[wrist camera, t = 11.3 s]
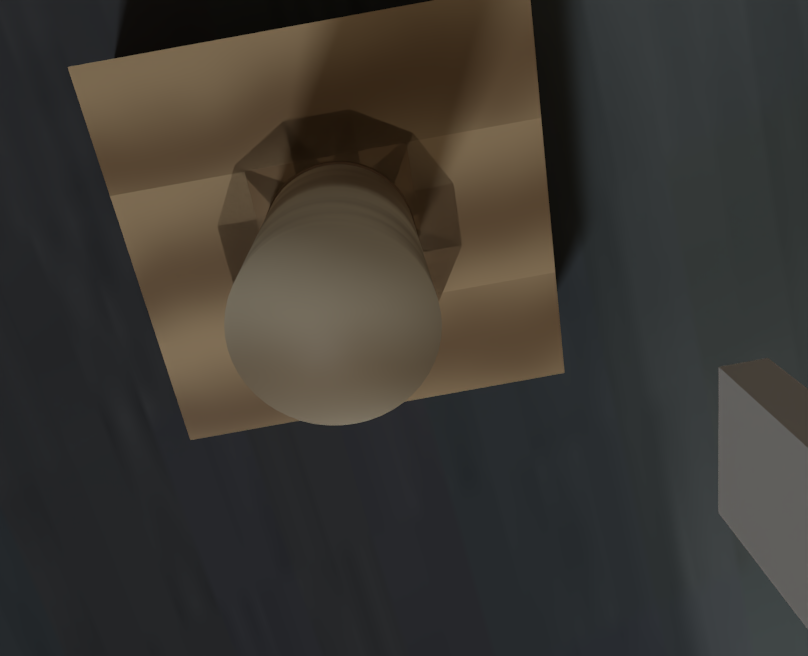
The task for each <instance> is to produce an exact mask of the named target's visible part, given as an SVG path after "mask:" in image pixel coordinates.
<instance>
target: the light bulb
mask: <svg viewBox="0 0 808 656" xmlns="http://www.w3.org/2000/svg"><path fill="white" fill-rule="evenodd" d="M224 329H225V339H226V344H227V348H228V352H229V354H230V357H231V360H232V363H233V364H234V366H235V368H236V370H237V372H238V374H239V375H240V377H241V378H242V380H243V381H244V382H245V384H246V385H247V386H248V387H249V388H250V389H251V390H252V392H253V393H254V394H255V395H256V396H258V397H259V398H260V399H261V400H262V401H264V402H265V403H266V404H268V405H269V406H271V407H272V408H274V409H275V410H277V411H279V412H281V413H283V414H285V415H287V416H289V417H292V418H295V419H298V420H301V421H304V422H309V423H313V424H321V425H348V424H356V423H360V422H364V421H368V420H371V419H373V418H376V417H379V416H381V415H383V414H385V413H387V412H389V411H391V410H393V409H394V408H396V407H397V406H399V405H400V404H402V403H403V402H404V401H406V400H407V399H408V398H409V397H410V396H411V395H412V394H413V393H414V392H415V391H416V390H417V389H418V388H419V387H420V386H421V385H422V383H423V382H424V380H425V379H426V377H427V376H428V374H429V372H430V370H431V369H432V367H433V365H434V363H435V360H436V357H437V354H438V351H439V346H440V341H441V333H442V320H441V310H440V306H439V302H438V298H437V295H436V291H435V288H434V285H433V282H432V279H431V275H430V272H429V269H428V266H427V263H426V260H425V256H424V253H423V250H422V247H421V244H420V241H419V237H418V234H417V231H416V225H415V221H414V217H413V214H412V211H411V209H410V206H409V204H408V202H407V200H406V198H405V197H404V195H403V194H402V192H401V191H400V190H399V188H398V187H397V186H396V185H395V184H394V183H393V182H392V181H391V180H390V179H388V178H387V177H386V176H385V175H383V174H382V173H380V172H378V171H377V170H375V169H373V168H370V167H368V166H366V165H363V164H359V163H356V162H349V161H329V162H323V163H319V164H315V165H313V166H310V167H308V168H305V169H304V170H302V171H300V172H298V173H297V174H295V175H294V176H293V177H291V178H290V179H289V180H288V181H287V182H286V183H285V184H284V185H283V186H282V187H281V188H280V190H279V191H278V192H277V194H276V195H275V197H274V199H273V201H272V203H271V205H270V207H269V209H268V212H267V215H266V218H265V220H264V222H263V224H262V226H261V228H260V230H259V232H258V234H257V236H256V238H255V240H254V243H253V245H252V247H251V249H250V251H249V253H248V255H247V257H246V259H245V261H244V263H243V265H242V267H241V269H240V271H239V273H238V275H237V277H236V279H235V281H234V283H233V286H232V288H231V291H230V294H229V296H228V300H227V304H226V309H225V319H224Z"/></svg>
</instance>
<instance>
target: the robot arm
mask: <svg viewBox="0 0 808 656" xmlns="http://www.w3.org/2000/svg"><path fill="white" fill-rule="evenodd" d="M718 513H719V514H720V515H721V517H722V518H723V519H724V520H725V522H726V523H727V524H728V526H729V527H730V528H731V530H732V531H733V532H734V534H735V535H736V536H737V537H738V539H739V540H740V541H741V543H742V544H743V545H744V547H745V548H746V549H747V550H748V552H749V553H750V554H751V556H752V557H753V558H754V560H755V561H756V562H757V564H758V565H759V566H760V567H761V569H762V570H763V571H764V573H765V574H766V575H767V577H768V578H769V579H770V581H771V582H772V583H773V584H774V586H775V587H776V588H777V590H778V591H779V592H780V594H781V595H782V596H783V597H784V599H785V600H786V601H787V603H788V604H789V605H790V607H791V608H792V609H793V611H794V612H795V613H796V614H797V616H798V617H799V618H800V620H801V621H802V622H803V624H804V625H805V626H806V628H807V629H808V389H807V388H806V387H804V386H803V385H802V384H801V383H799V382H798V381H797V380H795V379H794V378H793V377H792V376H790V375H789V374H788V373H787V372H785V371H784V370H783V369H781V368H780V367H779V366H778V365H776V364H775V363H774V362H772V361H771V360H770V359H769V358H765V359H760V360H754V361H749V362H743V363H738V364H732V365H727V366H721V367H719V446H718Z"/></svg>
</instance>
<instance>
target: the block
mask: <svg viewBox="0 0 808 656" xmlns="http://www.w3.org/2000/svg"><path fill="white" fill-rule="evenodd" d="M68 70H69V73H70V76H71V79H72V82H73V85H74V88H75V91H76V94H77V97H78V100H79V103H80V106H81V109H82V112H83V115H84V118H85V121H86V124H87V127H88V130H89V133H90V136H91V139H92V142H93V145H94V149H95V152H96V155H97V158H98V161H99V164H100V167H101V170H102V173H103V176H104V179H105V182H106V185H107V188H108V191H109V194H110V197H111V200H112V203H113V206H114V209H115V212H116V215H117V218H118V221H119V224H120V228H121V231H122V234H123V237H124V240H125V243H126V246H127V249H128V252H129V255H130V258H131V261H132V264H133V267H134V270H135V273H136V276H137V279H138V282H139V285H140V288H141V291H142V294H143V297H144V300H145V303H146V307H147V310H148V313H149V316H150V319H151V322H152V325H153V328H154V331H155V334H156V337H157V340H158V343H159V346H160V349H161V352H162V355H163V358H164V361H165V364H166V367H167V370H168V373H169V376H170V379H171V383H172V386H173V389H174V392H175V395H176V398H177V401H178V404H179V407H180V410H181V413H182V416H183V419H184V422H185V425H186V428H187V431H188V434H189V437H190V440H193V439H199V438H204V437H210V436H216V435H221V434H227V433H232V432H238V431H243V430H249V429H255V428H260V427H266V426H271V425H277V424H282V423H288V422H293V421H299V420H298V419H295V418H292V417H289V416H287V415H285V414H283V413H281V412H279V411H277V410H275V409H274V408H272V407H271V406H269V405H268V404H266V403H265V402H264V401H262V400H261V399H260V398H259V397H258V396H256V395H255V394H254V393H253V392H252V390H251V389H250V388H249V387H248V386H247V385H246V384H245V382H244V381H243V380H242V378H241V377H240V375H239V374H238V372H237V370H236V368H235V366H234V364H233V363H232V360H231V357H230V354H229V352H228V348H227V344H226V339H225V329H224V319H225V309H226V304H227V300H228V296H229V294H230V291H231V288H232V286H233V283H234V281H235V279H236V277H237V275H238V273H239V271H240V269H241V267H242V265H243V263H244V261H245V259H246V257H247V255H248V253H249V251H250V249H251V247H252V245H253V243H254V240H255V238H256V236H257V234H258V232H259V230H260V228H261V226H262V224H263V222H264V220H265V218H266V215H267V212H268V209H269V207H270V205H271V203H272V201H273V199H274V197H275V195H276V194H277V192H278V191H279V190H280V188H281V187H282V186H283V185H284V184H285V183H286V182H287V181H288V180H289V179H290V178H291V177H293V176H294V175H295V174H297V173H298V172H300V171H302V170H304V169H305V168H308V167H310V166H313V165H315V164H319V163H323V162H329V161H349V162H356V163H359V164H363V165H366V166H368V167H370V168H373V169H375V170H377V171H378V172H380V173H382V174H383V175H385V176H386V177H387V178H388V179H390V180H391V181H392V182H393V183H394V184H395V185H396V186H397V187H398V188H399V190H400V191H401V192H402V194H403V195H404V197H405V198H406V200H407V202H408V204H409V206H410V209H411V211H412V214H413V217H414V221H415V225H416V231H417V234H418V237H419V241H420V244H421V247H422V250H423V253H424V256H425V260H426V263H427V266H428V269H429V272H430V275H431V279H432V282H433V285H434V288H435V291H436V295H437V298H438V302H439V306H440V310H441V320H442V333H441V341H440V346H439V351H438V354H437V357H436V360H435V363H434V365H433V367H432V369H431V370H430V372H429V374H428V376H427V377H426V379H425V380H424V382H423V383H422V385H421V386H420V387H419V388H418V389H417V390H416V391H415V392H414V393H413V394H412V395H411V396H410V397H409V398H408V399H407V400H406V401H410V400H416V399H421V398H427V397H433V396H438V395H444V394H449V393H455V392H460V391H466V390H471V389H477V388H483V387H488V386H494V385H499V384H505V383H510V382H516V381H522V380H527V379H533V378H538V377H544V376H549V375H555V374H560V373H564V363H563V352H562V341H561V330H560V319H559V308H558V297H557V286H556V275H555V264H554V253H553V242H552V231H551V220H550V209H549V198H548V187H547V176H546V165H545V154H544V143H543V132H542V121H541V110H540V99H539V88H538V77H537V66H536V55H535V44H534V33H533V22H532V11H531V0H432V1H427V2H421V3H416V4H410V5H405V6H400V7H394V8H389V9H383V10H378V11H372V12H367V13H361V14H356V15H350V16H345V17H339V18H334V19H328V20H323V21H317V22H312V23H306V24H301V25H295V26H290V27H284V28H279V29H274V30H268V31H263V32H257V33H252V34H246V35H241V36H235V37H230V38H224V39H219V40H213V41H208V42H202V43H197V44H191V45H186V46H180V47H175V48H169V49H164V50H158V51H153V52H148V53H142V54H137V55H131V56H126V57H120V58H115V59H109V60H104V61H98V62H93V63H87V64H82V65H76V66H71V67H68ZM404 402H405V401H404Z"/></svg>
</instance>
